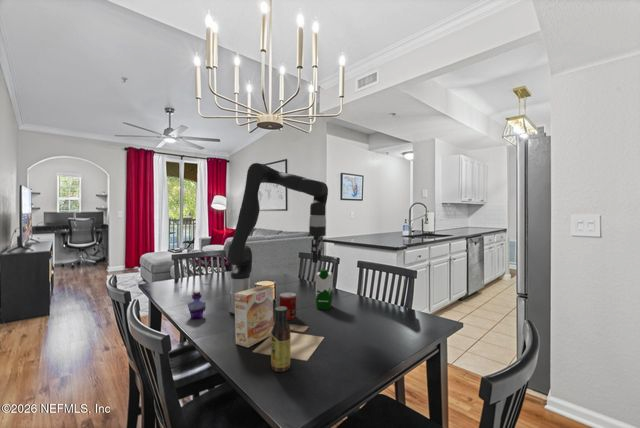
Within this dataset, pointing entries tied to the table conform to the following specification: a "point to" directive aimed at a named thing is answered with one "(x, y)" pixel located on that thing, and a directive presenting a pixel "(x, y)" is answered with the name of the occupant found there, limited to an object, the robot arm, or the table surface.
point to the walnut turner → (297, 328)
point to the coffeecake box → (253, 315)
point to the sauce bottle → (280, 341)
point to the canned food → (289, 304)
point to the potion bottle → (196, 306)
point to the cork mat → (295, 346)
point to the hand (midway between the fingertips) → (316, 260)
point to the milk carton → (324, 289)
